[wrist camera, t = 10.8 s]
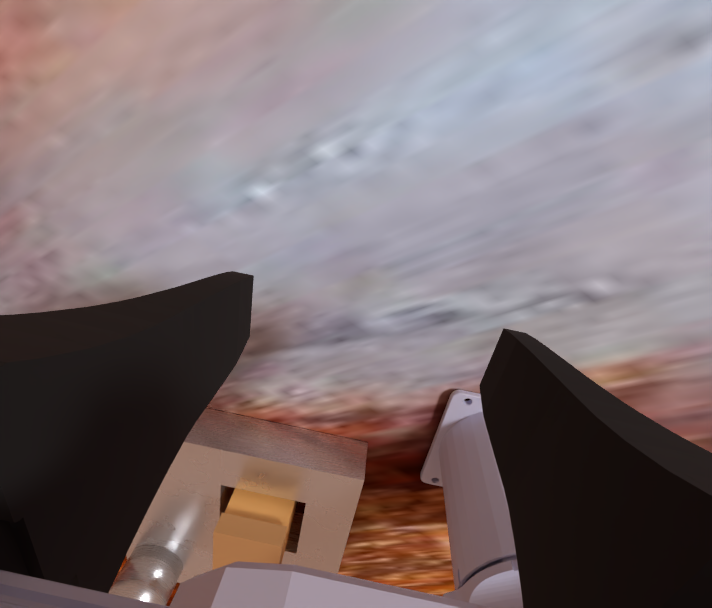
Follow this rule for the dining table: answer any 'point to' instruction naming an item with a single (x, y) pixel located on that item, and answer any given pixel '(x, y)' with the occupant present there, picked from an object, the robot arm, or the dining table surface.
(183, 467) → the grey slab with hole
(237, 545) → the tan chamfered block
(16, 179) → the dining table surface
